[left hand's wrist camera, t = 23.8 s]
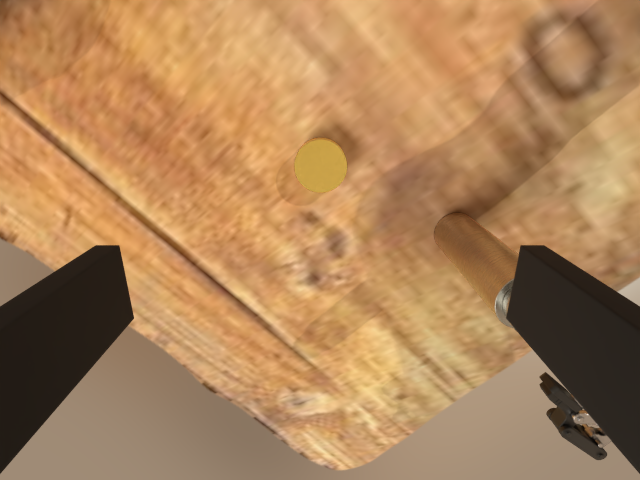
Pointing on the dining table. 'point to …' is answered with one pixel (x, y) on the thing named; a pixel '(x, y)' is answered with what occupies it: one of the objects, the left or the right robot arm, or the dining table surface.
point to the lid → (320, 165)
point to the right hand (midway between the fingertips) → (587, 351)
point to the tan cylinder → (479, 260)
